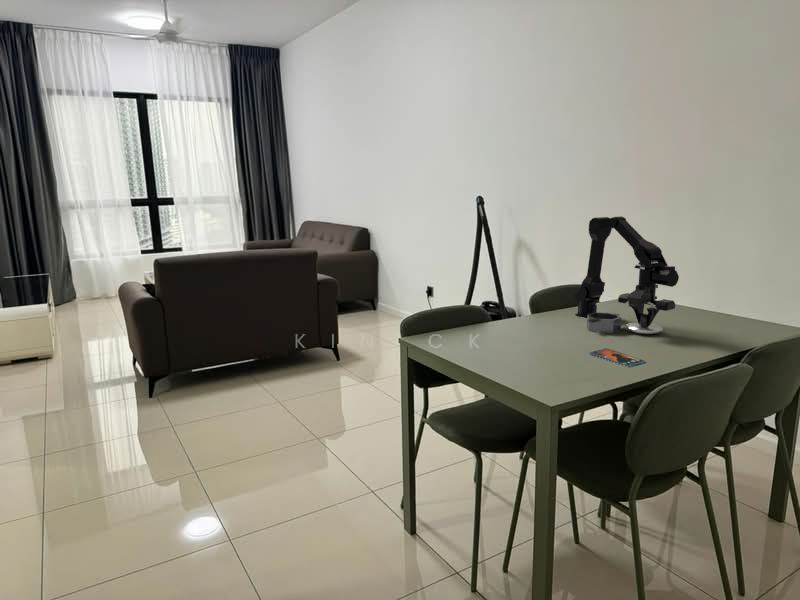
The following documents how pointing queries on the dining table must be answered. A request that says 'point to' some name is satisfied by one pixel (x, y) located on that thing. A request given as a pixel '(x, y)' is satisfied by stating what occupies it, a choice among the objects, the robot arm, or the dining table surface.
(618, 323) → the pot
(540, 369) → the dining table surface
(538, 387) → the dining table surface
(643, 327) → the lid
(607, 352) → the smartphone
